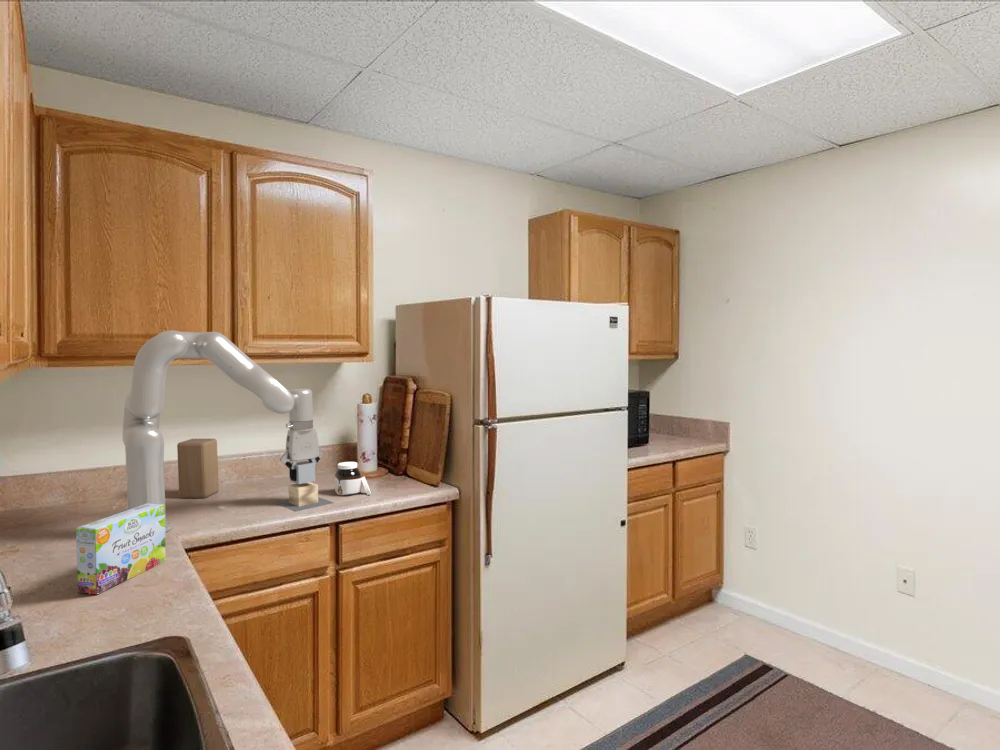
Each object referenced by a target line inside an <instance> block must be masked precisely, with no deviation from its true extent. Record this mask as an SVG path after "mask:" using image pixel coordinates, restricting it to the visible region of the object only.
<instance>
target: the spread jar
mask: <svg viewBox="0 0 1000 750" xmlns="http://www.w3.org/2000/svg"><path fill="white" fill-rule="evenodd" d="M362 485H363V489H364V491H365V493H366V495H367V496H371V494H372V492H371V490H370V487H369V484H368V481H367V479H366V477H365V475H364V476H362V475H361V472H360V470H359V469H358V462H356V461H343V462H339V463H337V470H336V471H335V473H334V489H335V490H334V491H335V494H337V495H338V496H341V497H352V496H356V495H360V494H361V493H362Z"/></svg>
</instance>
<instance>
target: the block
mask: <svg viewBox="0 0 1000 750" xmlns="http://www.w3.org/2000/svg"><path fill="white" fill-rule="evenodd" d="M176 447H177V448H176V449H177V451H176V452H177V470H178V471H177V473H178V475H177V476H178V497H179V498H182V499H206V498H207V497H210V496H212V495H214V494H216V493H218V492H219V488H220V487H219V463H218V462H219V461H218V440H217V439H216V438H190V439H187V440H183V441H180V442H178V443H177V446H176Z"/></svg>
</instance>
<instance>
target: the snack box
mask: <svg viewBox="0 0 1000 750" xmlns="http://www.w3.org/2000/svg"><path fill="white" fill-rule="evenodd" d="M165 509H166V503H165V504H144V505H141V506H138V507H135V508H132V509H129V510H128V509H126V510H124V511H121V512H118V513H115V514H113V515H110V516H107V517H104V518H100V519H98V520H95V521H92V522H89V523H87V524H84V525H83V524H82V525H81V526H78V527H76V528H75V537H76V538H75V539H76V541H75V542H76V570H77V571H76V573H77V574H76V575H77V576H76V577H77V578H76V579H77V594H83V593H90V594H97V593H100V592H102V591H104V590H106V589H108V588H110V587H112V588H114V587H116V586H118V585H120V584H122V583H124V582H126V581H128V579H129V580H131V579H132V577H133V578H135V577H137V576H138V575H140V574H142V573H145V572H147V571H149V570H151V569H153V568H155V567H157V566H159V565H161V564H163V563H166V561H167V553H166V552H167V551H166V547H167V546H166V532H165ZM162 562H163V563H162ZM160 563H161V564H160ZM158 564H159V565H158ZM156 565H157V566H156ZM154 566H155V567H154ZM130 578H131V579H130ZM119 583H120V584H119ZM117 584H118V585H117ZM115 585H116V586H115ZM113 586H114V587H113ZM110 589H111V588H110ZM108 590H109V589H108ZM106 591H107V590H106ZM104 592H105V591H104ZM102 593H103V592H102ZM90 594H89V595H90ZM100 594H101V593H100Z"/></svg>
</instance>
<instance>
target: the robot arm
mask: <svg viewBox="0 0 1000 750" xmlns="http://www.w3.org/2000/svg"><path fill="white" fill-rule="evenodd" d="M176 359H184V360H185V359H191V360H195V359H196V360H197V359H199V360H200V359H201V360H202V359H208V361H209V362H211V363H212V364H213V365H214V366H215V367H217V368H218V369H219V370H220V371H221V372H223V373H224V374H225V375H226V376H227V377H229V378H230V380H232V381H233V382H234V383H235V384H237V385H238V386H241V387H243V388H244V389H247V390H248V391H250V392H252V393H253V394H254V395H255V396H257V397H258V398H260V400H261V401H262V404H263V406H264V408H265V410H268V411H270V412H272V413H273V412H274V413H276V414H279V415H284V414H288V413H289V414H288V415H289V416H288V417H289V421H288V423H286V424H285V427H286V429H289V430H287V434H286V439H285V440H286V441H285V451H284V453H283V455H281V457H280V458H279V462H281V464H283V465H284V466H286V467H287V468H288V469H289V480H290V479H291V480H292V481H296V480H297V479H296V469H295V466H296V463H297V462H302V461H308V462H312V463H315V467H316V466H317V465H318V462H319V461H320V459H321V458H322V457H323V456H324V452H323V451H322V450H321V449H320V445H319V444H320V443H319V438H318V434H317V433H318V432H317V429H316V428H315V427H314V410H313V408H314V406H313V404H314V403H313V391H312V390H311V389H310V388H291V389H287V388H286V387H285V386H284V385H282V384H281V383H280V382H279V381H278V380H277V379H276V378H275V377H273V376H272V375H271V374H269V373H268V372H267V371H266V370H265V369H263V368H262V367H261V366H260V365H259V364H257V363H256V362H255V361H254V360H253V359H251V358H250V357H249V356H248V355H247V354H246V353H245V352H244V351H242V350H241V349H240V348H239V347H238V346H237V345H236V344H235V343H233V342H232V340H230V339H229V338H228V337H226V336H225V334H222V333H220V332H219V331H203V332H202V331H201V332H197V331H196V332H195V331H178V330H174V329H173V330H172V329H171V330H164V331H161V332H160V333H158V334H156V335H155V336H153V337H151V338H150V339H148V340H147V341H146V342H145V343H144V344H143V345H142V346H141V348H139V351H138V352H137V354H136V356H135V359H134V363H133V370H132V375H131V376H132V377H131V383H130V384H131V387H130V390H129V391H128V393H127V395H126V397H125V401H124V411H123V421H122V422H123V424H122V442H123V444H124V448H125V449H124V450H125V479H126V498H127V500H126V501H127V510H129V509H132V508H135V507H138V506H141V505H144V504H165V505H166V491H165V490H166V489H165V487H166V486H165V465H164V464H165V462H164V461H165V460H164V458H165V457H164V456H165V454H164V453H165V441H164V436H163V434H162V432H161V431H160V417H161V413H163V411H164V408H165V396H166V395H165V394H166V389H165V388H166V380H167V373H168V368H169V365H170V364H171V363H172V362H173V361H174V360H176ZM288 460H289V461H288ZM166 513H167V512H166V508H165V533H167V532H169V531H171V529H172V528H173V523H172V522H170V521H167V514H166Z"/></svg>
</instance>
